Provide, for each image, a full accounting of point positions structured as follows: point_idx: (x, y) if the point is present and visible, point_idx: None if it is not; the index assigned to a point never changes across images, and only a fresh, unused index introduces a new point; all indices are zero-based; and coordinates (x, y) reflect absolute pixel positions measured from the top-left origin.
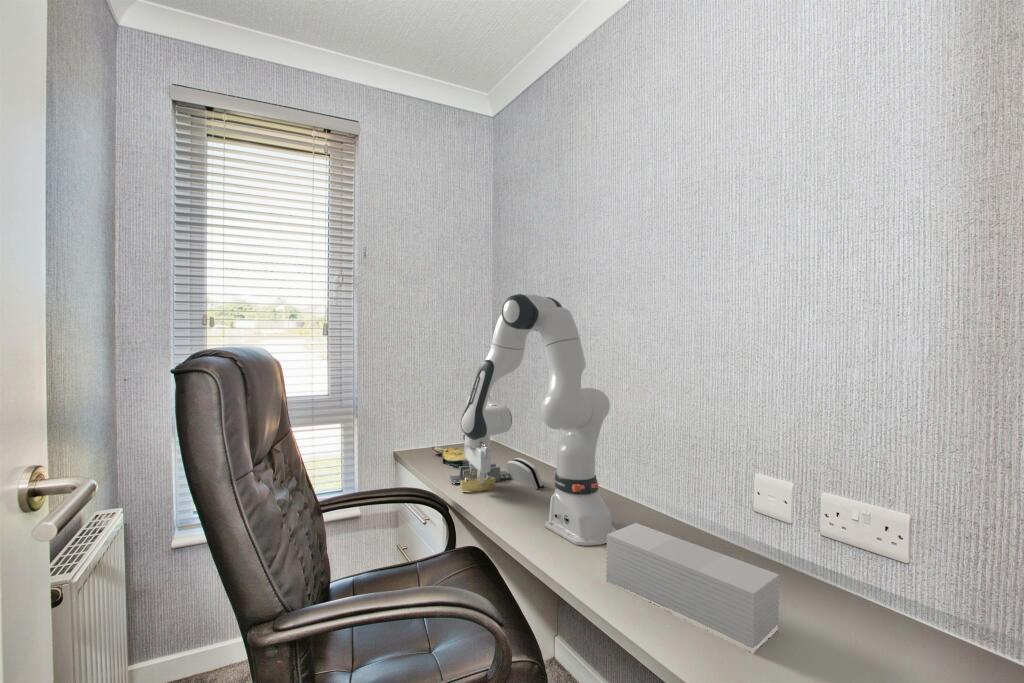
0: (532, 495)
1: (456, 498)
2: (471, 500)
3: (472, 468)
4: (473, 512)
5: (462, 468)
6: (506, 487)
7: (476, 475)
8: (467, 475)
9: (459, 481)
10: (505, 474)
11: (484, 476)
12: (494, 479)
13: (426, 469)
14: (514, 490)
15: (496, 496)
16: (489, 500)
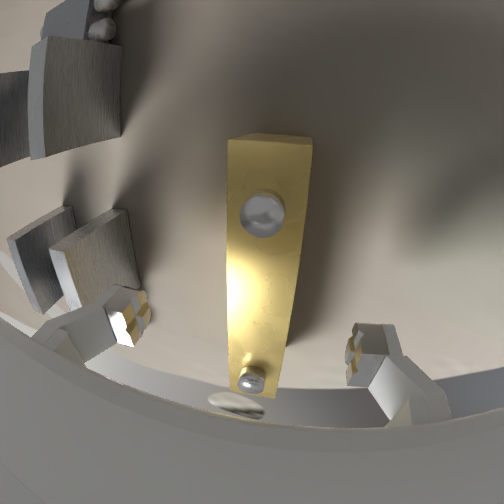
0: (498, 12)
1: (343, 383)
2: (410, 348)
3: (104, 333)
4: (495, 366)
5: (43, 299)
6: (290, 33)
7: (94, 233)
8: None
9: None
10: (90, 6)
11: (416, 365)
12: (311, 156)
13: (15, 305)
14: (386, 19)
15: (449, 207)
16: (471, 276)
